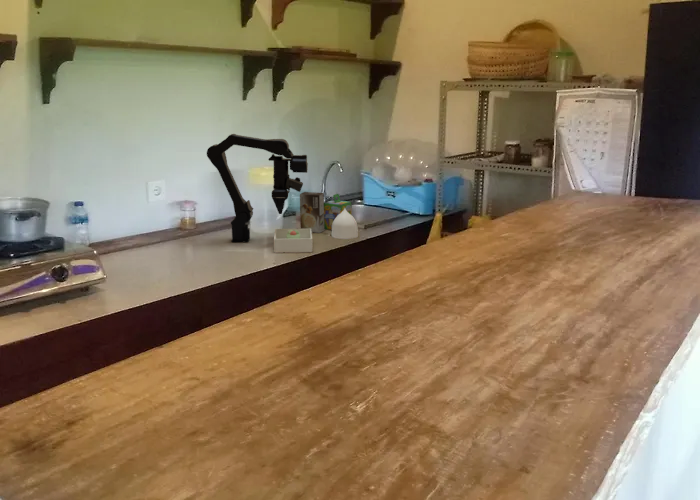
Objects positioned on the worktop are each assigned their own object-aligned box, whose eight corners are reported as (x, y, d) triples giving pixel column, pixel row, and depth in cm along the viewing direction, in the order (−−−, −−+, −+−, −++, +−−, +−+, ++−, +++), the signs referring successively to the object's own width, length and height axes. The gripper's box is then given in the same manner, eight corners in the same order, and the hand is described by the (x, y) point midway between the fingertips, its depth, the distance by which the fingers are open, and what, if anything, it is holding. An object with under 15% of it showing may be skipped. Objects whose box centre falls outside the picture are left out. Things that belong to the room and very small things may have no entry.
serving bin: (274, 252, 252) (273, 239, 251) (275, 241, 269) (275, 228, 268) (312, 252, 254) (312, 238, 252) (311, 241, 270) (311, 228, 269)
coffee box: (325, 229, 290) (325, 192, 286) (320, 233, 284) (320, 195, 280) (305, 228, 292) (304, 191, 288) (299, 231, 286) (299, 193, 282)
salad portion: (286, 246, 258) (286, 232, 257) (286, 243, 263) (286, 228, 262) (300, 246, 259) (300, 231, 257) (300, 243, 264) (300, 228, 262)
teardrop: (353, 232, 286) (353, 204, 283) (361, 238, 276) (362, 209, 273) (328, 233, 283) (328, 205, 280) (335, 240, 273) (335, 210, 270)
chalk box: (341, 231, 287) (341, 197, 283) (323, 229, 291) (323, 195, 287) (352, 227, 294) (352, 193, 291) (334, 225, 299) (334, 192, 295)
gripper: (301, 176, 255) (301, 216, 259) (302, 169, 273) (302, 207, 277) (271, 175, 254) (271, 216, 258) (274, 168, 272) (274, 207, 276)
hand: (281, 211), depth 267 cm, fingers open, 9 cm apart
